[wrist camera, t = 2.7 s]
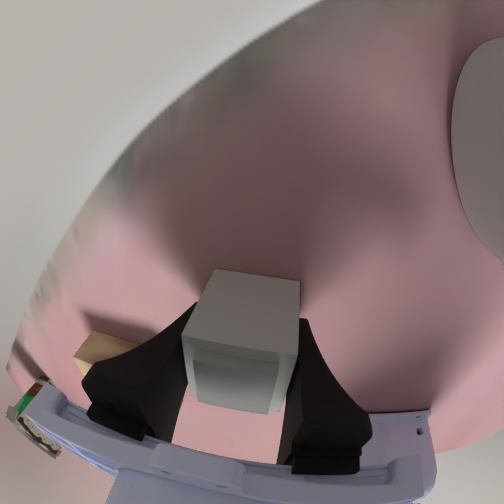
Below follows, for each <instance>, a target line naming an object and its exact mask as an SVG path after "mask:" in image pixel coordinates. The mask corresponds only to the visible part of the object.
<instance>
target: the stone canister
mask: <svg viewBox="0 0 504 504" xmlns="http://www.w3.org/2000/svg"><path fill="white" fill-rule="evenodd" d="M299 304H300V281H296V280H289V279H281V278H274V277H267V276H261V275H254V274H247V273H240V272H234V271H227V270H221V269H214V271H213V273H212V275H211V277H210V279H209V281H208V283H207V285H206V287H205V289H204V291H203V293H202V295H201V297H200V299H199V301H198V302H197V304H196V306H195V308H194V310H193V312H192V314H191V316H190V318H189V320H188V322H187V324H186V326H185V328H184V330H183V332H182V334H181V336H182V344H183V351H184V359H185V365H186V372H187V378H188V384H189V390H190V395H191V396H195V397H197V399H198V402H201V403H206V404H210V405H215V406H219V407H224V408H229V409H235V410H240V411H246V412H252V413H259V414H266V415H267V414H268V411H269V410H270V411H278V412H280V410H281V407H282V404H283V401H284V398H285V395H286V392H287V389H288V385H289V382H290V379H291V376H292V373H293V369H294V366H295V363H296V360H297V356H298V339H299Z"/></svg>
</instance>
